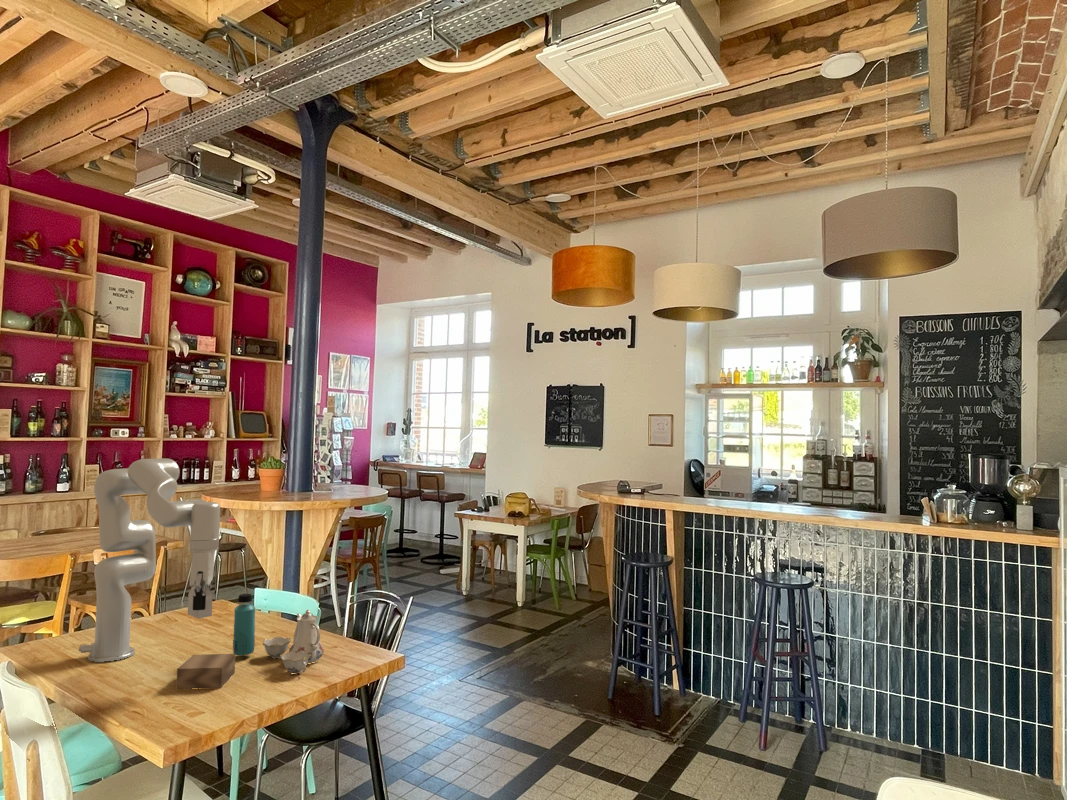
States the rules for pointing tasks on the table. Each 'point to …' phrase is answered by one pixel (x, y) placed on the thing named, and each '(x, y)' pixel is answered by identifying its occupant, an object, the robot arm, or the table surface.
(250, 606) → the beverage bottle
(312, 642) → the chinaware
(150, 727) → the table surface
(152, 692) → the table surface
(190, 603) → the milk carton
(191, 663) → the brown wooden block
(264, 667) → the table surface
